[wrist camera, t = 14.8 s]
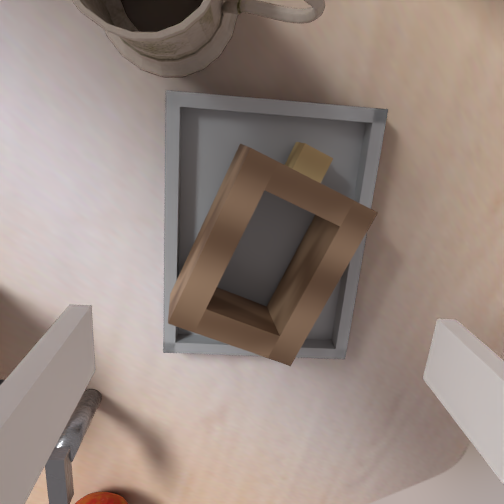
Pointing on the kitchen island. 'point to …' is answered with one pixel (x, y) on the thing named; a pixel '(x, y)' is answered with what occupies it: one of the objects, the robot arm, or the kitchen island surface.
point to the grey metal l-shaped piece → (69, 449)
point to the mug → (185, 32)
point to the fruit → (102, 498)
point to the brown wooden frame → (298, 271)
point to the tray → (262, 199)
